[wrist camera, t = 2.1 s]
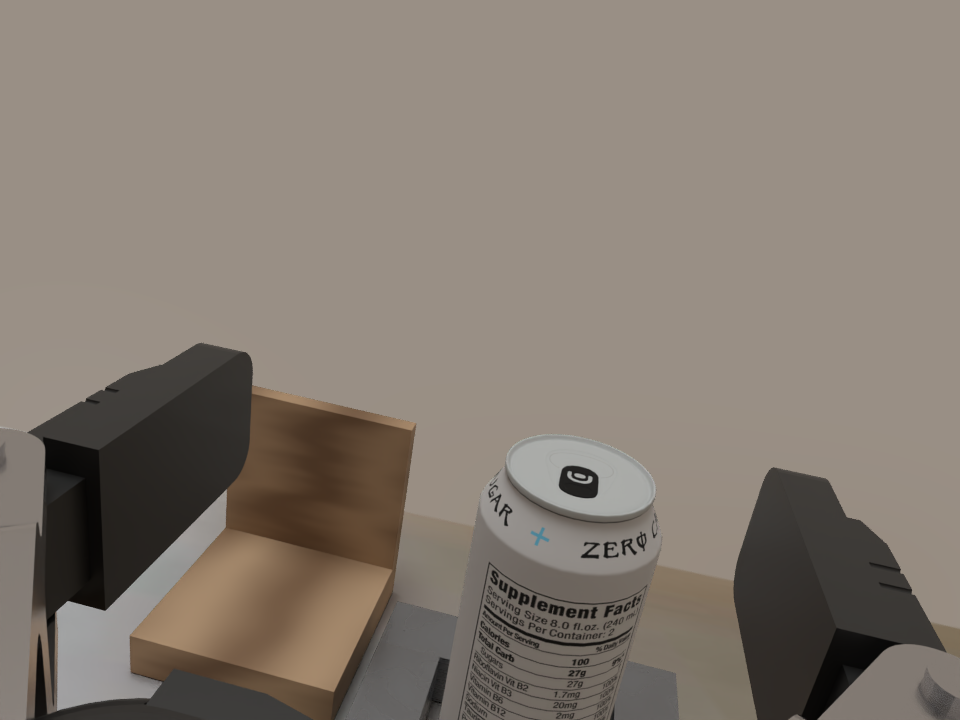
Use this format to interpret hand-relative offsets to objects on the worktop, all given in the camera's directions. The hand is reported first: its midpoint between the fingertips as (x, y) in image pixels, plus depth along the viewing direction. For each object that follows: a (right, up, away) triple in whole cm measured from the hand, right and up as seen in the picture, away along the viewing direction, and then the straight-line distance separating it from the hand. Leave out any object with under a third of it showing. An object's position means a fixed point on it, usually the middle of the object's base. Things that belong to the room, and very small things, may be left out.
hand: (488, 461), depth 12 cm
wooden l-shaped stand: (-10, -11, +25) cm, 29 cm away
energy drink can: (+1, -16, +18) cm, 24 cm away
